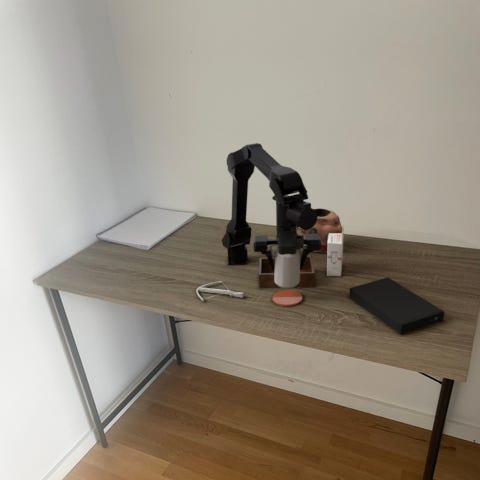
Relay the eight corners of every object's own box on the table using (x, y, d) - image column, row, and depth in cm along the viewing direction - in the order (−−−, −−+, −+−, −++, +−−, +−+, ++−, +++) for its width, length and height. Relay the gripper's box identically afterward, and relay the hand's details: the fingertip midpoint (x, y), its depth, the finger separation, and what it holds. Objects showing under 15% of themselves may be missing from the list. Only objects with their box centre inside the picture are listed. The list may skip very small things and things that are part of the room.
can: (302, 280, 140) (304, 243, 133) (294, 291, 134) (296, 253, 128) (279, 275, 143) (280, 239, 136) (270, 286, 137) (270, 249, 131)
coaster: (272, 306, 138) (272, 305, 137) (272, 292, 145) (272, 290, 145) (303, 306, 137) (303, 304, 137) (301, 291, 145) (301, 289, 144)
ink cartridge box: (327, 264, 159) (328, 223, 151) (341, 265, 158) (344, 224, 150) (325, 276, 152) (327, 233, 144) (341, 276, 151) (343, 234, 143)
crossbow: (188, 301, 145) (187, 296, 144) (207, 283, 154) (206, 278, 153) (234, 307, 138) (233, 301, 137) (251, 288, 148) (250, 282, 147)
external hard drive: (387, 285, 144) (388, 277, 142) (443, 320, 126) (444, 311, 124) (348, 297, 140) (349, 288, 138) (400, 335, 121) (401, 325, 120)
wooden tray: (259, 288, 148) (258, 274, 145) (260, 270, 158) (259, 257, 156) (314, 286, 147) (314, 272, 144) (311, 269, 157) (311, 256, 154)
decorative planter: (284, 250, 172) (284, 213, 164) (298, 238, 180) (298, 203, 173) (336, 258, 163) (338, 220, 155) (348, 245, 171) (350, 209, 164)
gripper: (251, 231, 122) (254, 283, 130) (323, 228, 120) (321, 282, 129) (253, 216, 131) (255, 266, 139) (320, 213, 129) (318, 264, 138)
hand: (287, 269), depth 136 cm, fingers closed on can, 8 cm apart
